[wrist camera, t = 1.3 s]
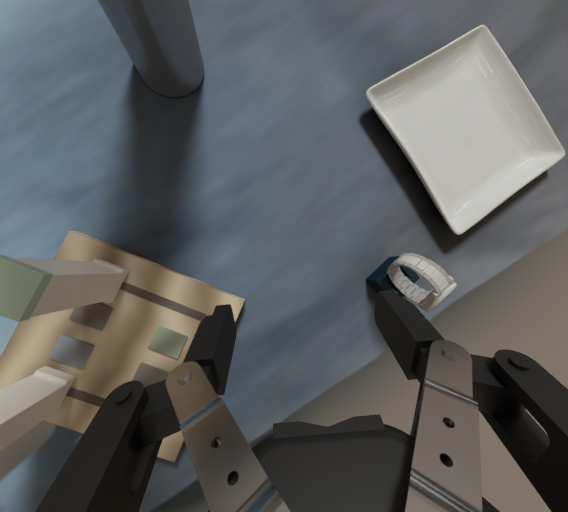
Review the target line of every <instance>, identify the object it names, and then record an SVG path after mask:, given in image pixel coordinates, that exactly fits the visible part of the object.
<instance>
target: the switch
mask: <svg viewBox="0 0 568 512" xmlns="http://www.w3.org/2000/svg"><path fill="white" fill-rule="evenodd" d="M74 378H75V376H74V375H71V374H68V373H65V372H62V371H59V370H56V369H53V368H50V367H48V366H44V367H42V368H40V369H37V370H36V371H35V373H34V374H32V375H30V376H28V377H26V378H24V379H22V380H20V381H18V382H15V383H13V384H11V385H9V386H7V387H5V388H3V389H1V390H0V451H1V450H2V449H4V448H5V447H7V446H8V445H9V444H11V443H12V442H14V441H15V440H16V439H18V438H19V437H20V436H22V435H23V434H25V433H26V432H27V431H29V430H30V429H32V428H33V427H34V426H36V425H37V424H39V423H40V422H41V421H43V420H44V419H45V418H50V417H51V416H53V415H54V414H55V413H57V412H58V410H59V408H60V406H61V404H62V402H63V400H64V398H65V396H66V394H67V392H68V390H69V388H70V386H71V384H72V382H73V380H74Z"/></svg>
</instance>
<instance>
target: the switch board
mask: <svg viewBox="0 0 568 512" xmlns="http://www.w3.org/2000/svg"><path fill="white" fill-rule="evenodd" d="M94 259H102V260H105V261H107V262H110V263H112V264H115V265H117V266H120V267H122V268H125V269H127V270H129V271H128V273H127V275H126V277H125V279H124V281H123V283H122V285H121V287H120V289H119V291H118V293H117V295H116V297H115V299H114V301H113V302H111V303H107V304H106V303H104V302H99V303H94V304H90V305H85V306H81V307H76V308H71V309H67V310H62V311H57V312H53V313H48V314H43V315H39V316H34V317H30V319H29V320H24V321H20V322H19V324H18V326H17V328H16V329H15V331H14V333H13V335H12V337H11V339H10V340H9V342H8V344H7V346H6V348H5V350H4V351H3V353H2V355H1V357H0V390H1V389H3V388H5V387H7V386H9V385H11V384H13V383H15V382H18V381H20V380H22V379H24V378H26V377H28V376H30V375H32V374H34V373H35V371H36V370H37V369H40V368H42V367H44V366H48V367H50V368H53V369H56V370H59V371H62V372H65V373H68V374H71V375H74V376H75V378H74V380H73V382H72V384H71V386H70V388H69V390H68V392H67V394H66V396H65V398H64V400H63V402H62V404H61V406H60V408H59V410H58V412H57V413H55V414H54V415H53V416H51V417H50V418H45V419H44V420H43V421H46V422H49V423H52V424H55V425H58V426H61V427H65V428H68V429H71V430H74V431H77V432H80V433H84V432H85V431H86V429H87V428H88V426H89V424H90V423H91V421H92V419H93V418H94V416H95V415H96V413H97V411H98V410H99V408H100V407H101V405H102V403H103V402H104V400H105V399H106V397H107V396H108V395H109V394H110V393H111V392H112V391H113V390H114V389H115V388H117V387H118V386H120V385H122V384H124V383H126V382H129V381H140V382H141V383H142V384H143V386H144V387H146V386H149V385H151V384H154V383H157V382H160V381H162V380H165V379H167V376H168V375H169V373H170V372H171V371H172V370H173V369H174V368H175V367H177V366H178V365H180V364H182V363H183V361H184V359H185V356H186V354H187V352H188V349H189V347H190V345H191V342H192V340H193V339H194V335H195V333H196V332H197V328H198V326H199V324H200V322H201V321H202V320H203V319H204V318H205V317H206V316H209V315H212V314H213V312H214V309H215V307H216V305H226V304H230V305H231V307H232V311H233V315H234V320H235V322H236V320H237V317H238V315H239V313H240V310H241V308H242V306H243V304H244V301H245V299H243V298H240V297H238V296H235V295H233V294H230V293H228V292H226V291H223V290H221V289H218V288H216V287H213V286H211V285H208V284H206V283H204V282H201V281H199V280H196V279H194V278H191V277H189V276H186V275H184V274H182V273H179V272H177V271H174V270H172V269H169V268H167V267H164V266H162V265H159V264H157V263H155V262H152V261H150V260H147V259H145V258H142V257H140V256H137V255H135V254H133V253H130V252H128V251H125V250H123V249H120V248H118V247H115V246H113V245H111V244H108V243H106V242H103V241H101V240H98V239H96V238H93V237H91V236H88V235H86V234H84V233H81V232H76V231H72V230H69V232H68V234H67V236H66V238H65V239H64V241H63V243H62V245H61V247H60V249H59V250H58V252H57V254H56V256H55V258H54V260H72V261H92V262H93V260H94ZM183 441H184V438H183V435H182V432H181V431H179V432H177V433H175V434H172V435H170V436H168V437H165V438H163V440H162V443H161V446H160V449H159V452H158V455H157V457H159V458H162V459H166V460H169V461H172V462H175V460H176V458H177V455H178V453H179V451H180V448H181V446H182V444H183Z"/></svg>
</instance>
